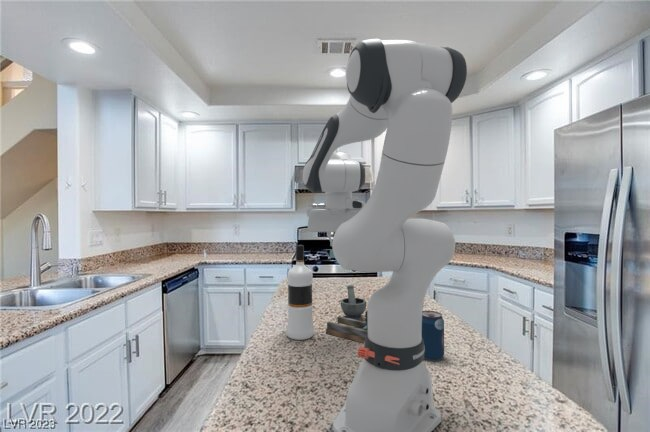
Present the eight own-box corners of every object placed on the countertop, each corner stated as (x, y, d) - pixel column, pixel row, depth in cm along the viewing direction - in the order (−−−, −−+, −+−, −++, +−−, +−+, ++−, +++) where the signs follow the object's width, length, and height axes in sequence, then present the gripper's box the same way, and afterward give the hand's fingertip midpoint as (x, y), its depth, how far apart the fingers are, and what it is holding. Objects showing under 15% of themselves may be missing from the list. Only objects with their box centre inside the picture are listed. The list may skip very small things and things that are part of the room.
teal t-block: (330, 257, 100) (329, 233, 100) (330, 256, 104) (330, 232, 104) (345, 257, 100) (345, 233, 99) (345, 256, 104) (345, 232, 103)
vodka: (291, 343, 97) (290, 246, 97) (283, 332, 105) (282, 244, 105) (318, 338, 100) (318, 245, 100) (308, 328, 109) (308, 243, 109)
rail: (386, 336, 102) (386, 307, 102) (375, 346, 94) (374, 314, 94) (340, 325, 112) (339, 299, 112) (326, 333, 104) (325, 305, 104)
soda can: (449, 360, 84) (449, 316, 84) (425, 363, 83) (425, 318, 83) (436, 350, 91) (435, 309, 91) (413, 351, 90) (413, 310, 90)
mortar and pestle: (368, 322, 115) (368, 290, 115) (343, 324, 113) (343, 291, 113) (361, 313, 126) (360, 283, 126) (338, 314, 125) (338, 284, 124)
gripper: (305, 203, 99) (306, 247, 99) (370, 203, 98) (370, 247, 98) (307, 204, 105) (308, 244, 105) (368, 203, 104) (368, 244, 104)
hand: (338, 245), depth 102 cm, fingers closed on teal t-block, 3 cm apart
